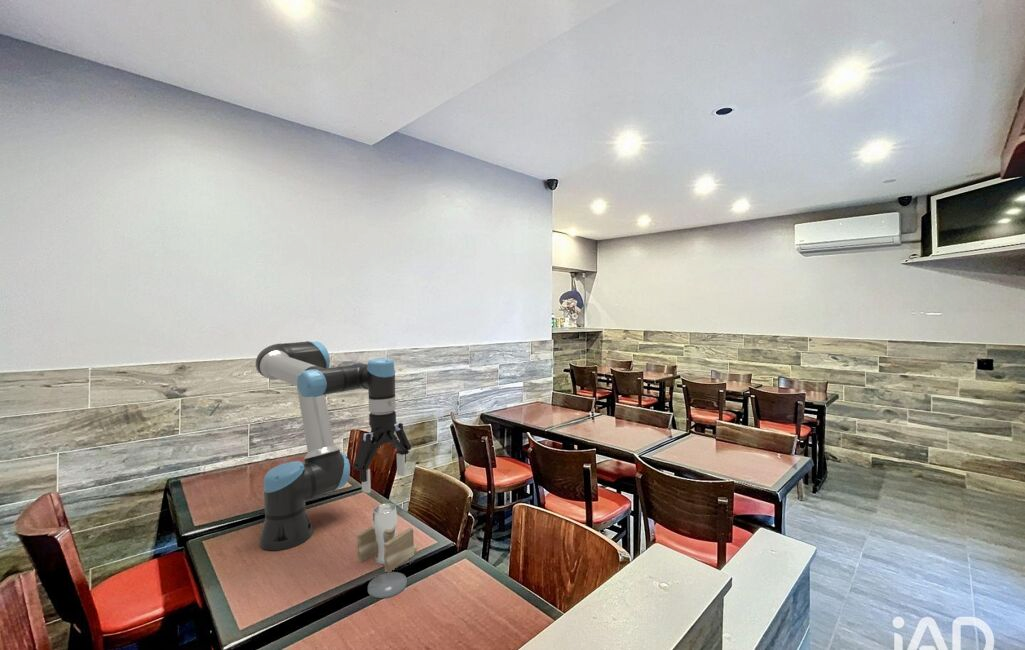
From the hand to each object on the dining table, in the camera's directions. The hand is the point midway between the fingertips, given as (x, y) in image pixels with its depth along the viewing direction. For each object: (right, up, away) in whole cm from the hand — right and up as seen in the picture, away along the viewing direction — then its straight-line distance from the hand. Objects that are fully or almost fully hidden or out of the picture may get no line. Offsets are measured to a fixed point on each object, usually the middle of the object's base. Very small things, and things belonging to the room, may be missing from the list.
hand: (384, 483), depth 125 cm
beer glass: (0, -23, 0) cm, 23 cm away
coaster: (+4, -23, -12) cm, 26 cm away
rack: (0, -22, 0) cm, 22 cm away
